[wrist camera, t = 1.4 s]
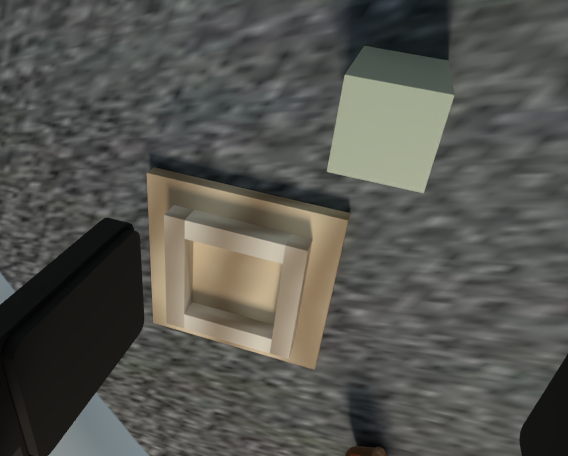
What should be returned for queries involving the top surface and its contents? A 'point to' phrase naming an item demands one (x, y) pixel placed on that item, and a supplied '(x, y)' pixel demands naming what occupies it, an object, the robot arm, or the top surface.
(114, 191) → the top surface
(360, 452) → the tin
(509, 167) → the top surface
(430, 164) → the pale green block
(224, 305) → the end holder
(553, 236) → the top surface
